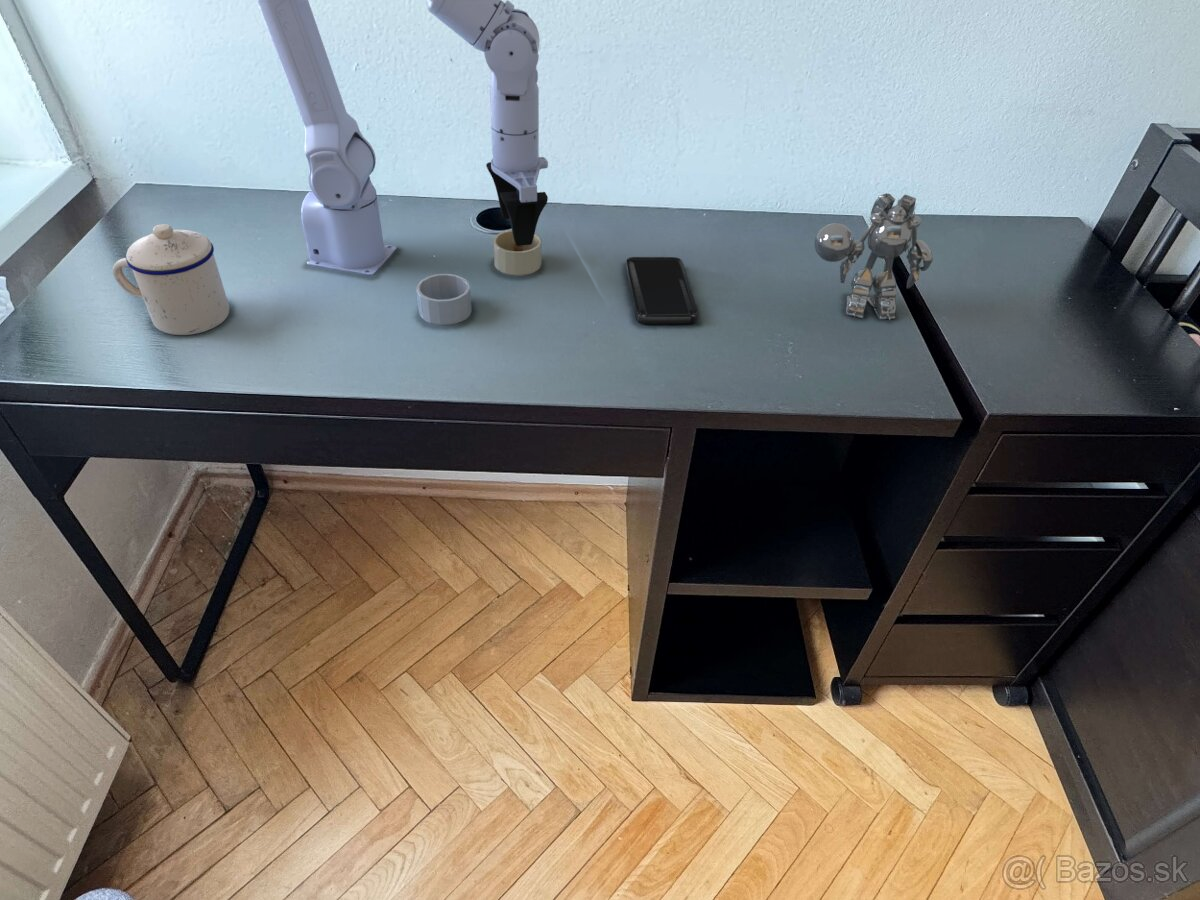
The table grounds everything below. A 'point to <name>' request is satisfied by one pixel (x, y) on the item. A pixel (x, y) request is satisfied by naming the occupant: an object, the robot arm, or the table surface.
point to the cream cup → (516, 255)
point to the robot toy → (877, 253)
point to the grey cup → (444, 299)
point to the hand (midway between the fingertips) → (517, 230)
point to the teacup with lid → (176, 280)
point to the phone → (660, 291)
